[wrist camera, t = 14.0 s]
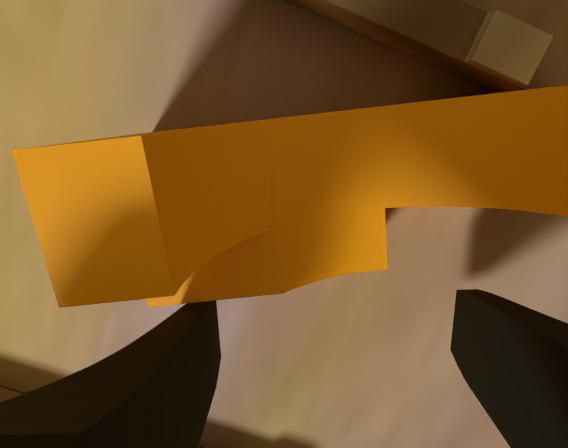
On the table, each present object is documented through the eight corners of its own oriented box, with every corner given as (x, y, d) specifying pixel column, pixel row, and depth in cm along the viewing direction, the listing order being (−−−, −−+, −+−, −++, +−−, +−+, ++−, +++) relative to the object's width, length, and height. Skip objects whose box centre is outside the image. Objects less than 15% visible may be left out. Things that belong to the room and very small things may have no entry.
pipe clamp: (179, 261, 13) (85, 395, 7) (153, 132, 12) (11, 150, 6) (533, 224, 13) (775, 328, 6) (543, 87, 11) (852, 54, 5)
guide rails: (514, 52, 11) (561, 39, 9) (285, 497, 16) (286, 547, 14) (-132, -244, 9) (-237, -334, 7) (-175, 361, 14) (-245, 399, 12)
